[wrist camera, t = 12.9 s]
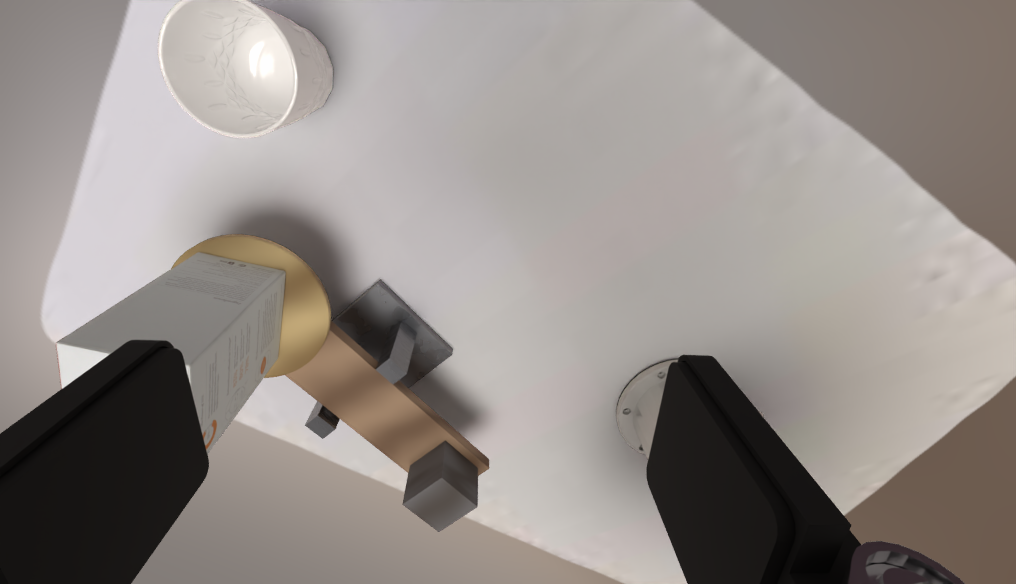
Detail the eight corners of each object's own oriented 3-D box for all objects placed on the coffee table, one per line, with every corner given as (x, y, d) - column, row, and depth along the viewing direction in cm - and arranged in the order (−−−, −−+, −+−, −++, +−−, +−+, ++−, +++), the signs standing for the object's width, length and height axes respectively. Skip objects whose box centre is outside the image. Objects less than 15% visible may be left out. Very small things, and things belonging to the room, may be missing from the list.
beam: (512, 438, 47) (516, 489, 41) (421, 500, 49) (414, 556, 44) (249, 195, 36) (205, 218, 30) (152, 291, 39) (95, 328, 33)
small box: (197, 249, 35) (51, 339, 23) (288, 269, 36) (191, 365, 24) (196, 344, 38) (65, 466, 26) (279, 360, 39) (190, 485, 27)
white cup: (251, 125, 39) (181, 141, 30) (224, 14, 36) (137, -7, 27) (349, 121, 39) (309, 135, 30) (331, 9, 36) (280, -12, 27)
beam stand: (452, 349, 49) (447, 397, 41) (368, 413, 51) (349, 469, 44) (380, 279, 45) (360, 319, 38) (294, 352, 48) (260, 402, 41)
